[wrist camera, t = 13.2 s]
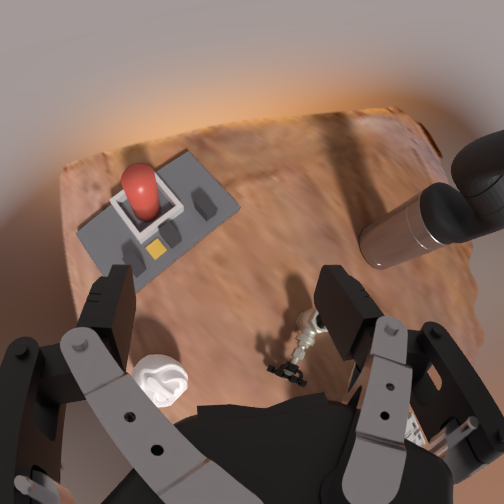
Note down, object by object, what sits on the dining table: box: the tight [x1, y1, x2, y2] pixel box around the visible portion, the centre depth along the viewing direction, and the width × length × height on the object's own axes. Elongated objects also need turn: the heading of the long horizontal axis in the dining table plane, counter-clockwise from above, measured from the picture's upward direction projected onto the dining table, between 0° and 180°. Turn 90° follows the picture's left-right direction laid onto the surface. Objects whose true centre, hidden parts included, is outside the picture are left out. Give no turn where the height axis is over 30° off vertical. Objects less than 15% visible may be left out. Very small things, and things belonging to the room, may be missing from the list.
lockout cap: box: [121, 163, 161, 222], centre depth 39 cm, size 5×5×10 cm
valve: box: [267, 308, 328, 387], centre depth 41 cm, size 7×7×12 cm
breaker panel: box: [76, 151, 240, 294], centre depth 43 cm, size 24×14×4 cm, turn 133°
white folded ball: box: [132, 354, 188, 408], centre depth 35 cm, size 8×8×8 cm
